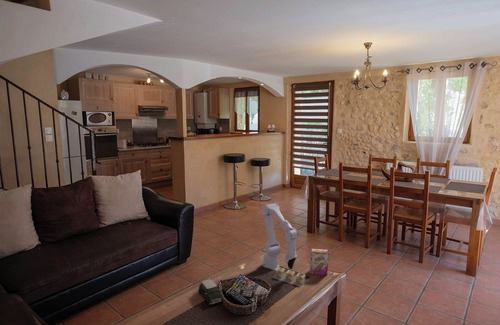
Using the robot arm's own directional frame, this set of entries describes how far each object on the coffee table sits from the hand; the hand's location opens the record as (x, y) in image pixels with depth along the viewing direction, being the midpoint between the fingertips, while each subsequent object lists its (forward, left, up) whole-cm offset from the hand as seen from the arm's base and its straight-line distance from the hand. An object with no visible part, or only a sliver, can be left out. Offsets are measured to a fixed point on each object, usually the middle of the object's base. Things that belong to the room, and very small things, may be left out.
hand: (290, 268), depth 198 cm
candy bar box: (+13, +17, -8) cm, 23 cm away
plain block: (0, 0, -7) cm, 7 cm away
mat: (0, 0, -8) cm, 8 cm away
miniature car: (-31, -42, -8) cm, 53 cm away
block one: (-7, 0, -7) cm, 10 cm away
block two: (+7, 0, -7) cm, 10 cm away
